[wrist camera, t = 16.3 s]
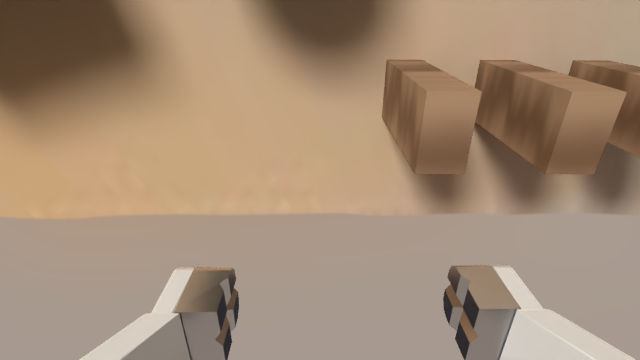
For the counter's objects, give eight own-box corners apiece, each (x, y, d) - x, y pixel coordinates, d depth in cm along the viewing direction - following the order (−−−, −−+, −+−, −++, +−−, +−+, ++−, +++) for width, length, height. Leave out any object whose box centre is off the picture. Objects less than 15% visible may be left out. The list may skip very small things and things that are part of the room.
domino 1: (386, 59, 30) (426, 91, 19) (421, 59, 30) (481, 91, 19) (381, 116, 32) (415, 174, 21) (414, 117, 32) (464, 174, 21)
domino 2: (480, 60, 30) (572, 91, 19) (515, 60, 30) (626, 92, 19) (468, 117, 32) (545, 174, 21) (501, 117, 32) (593, 174, 21)
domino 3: (573, 60, 30) (717, 92, 19) (607, 60, 30) (771, 92, 19) (555, 117, 32) (674, 174, 21) (587, 117, 32) (723, 174, 21)
